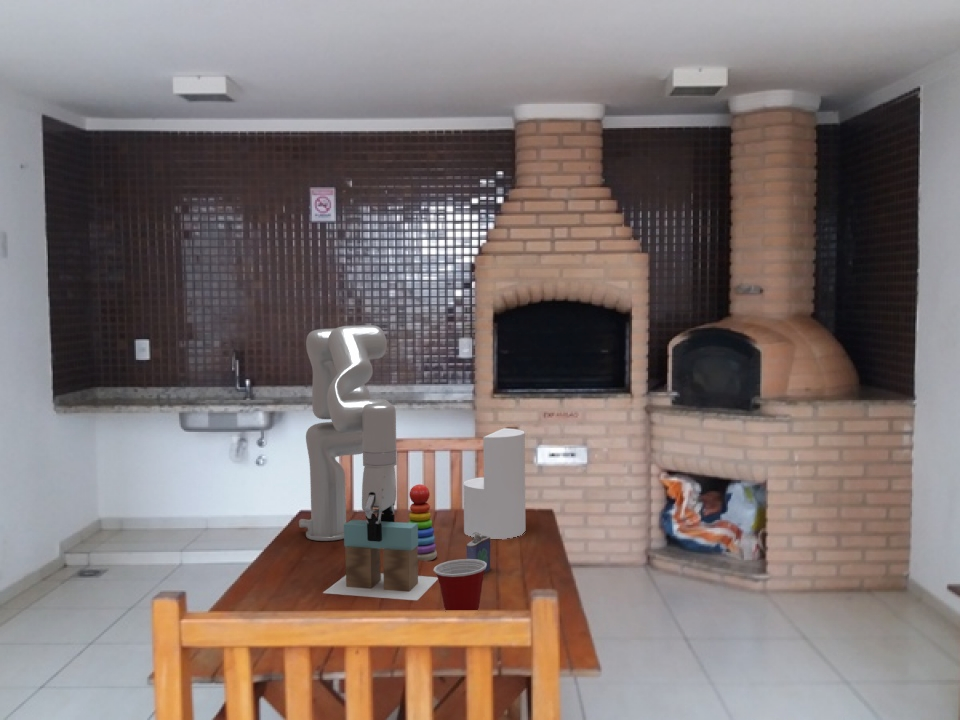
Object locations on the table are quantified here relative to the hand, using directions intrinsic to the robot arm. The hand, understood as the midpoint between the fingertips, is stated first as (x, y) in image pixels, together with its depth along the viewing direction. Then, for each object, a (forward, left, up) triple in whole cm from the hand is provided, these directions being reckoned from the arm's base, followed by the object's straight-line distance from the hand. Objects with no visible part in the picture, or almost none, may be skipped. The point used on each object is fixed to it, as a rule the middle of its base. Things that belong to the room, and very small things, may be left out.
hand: (381, 535), depth 201 cm
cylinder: (+13, +54, -13) cm, 57 cm away
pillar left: (-4, 0, -11) cm, 12 cm away
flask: (+19, +13, -13) cm, 26 cm away
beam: (0, 0, -2) cm, 2 cm away
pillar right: (+5, 0, -11) cm, 12 cm away
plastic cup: (+23, -16, -13) cm, 31 cm away
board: (0, 0, -12) cm, 12 cm away
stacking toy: (+1, +25, -13) cm, 28 cm away
